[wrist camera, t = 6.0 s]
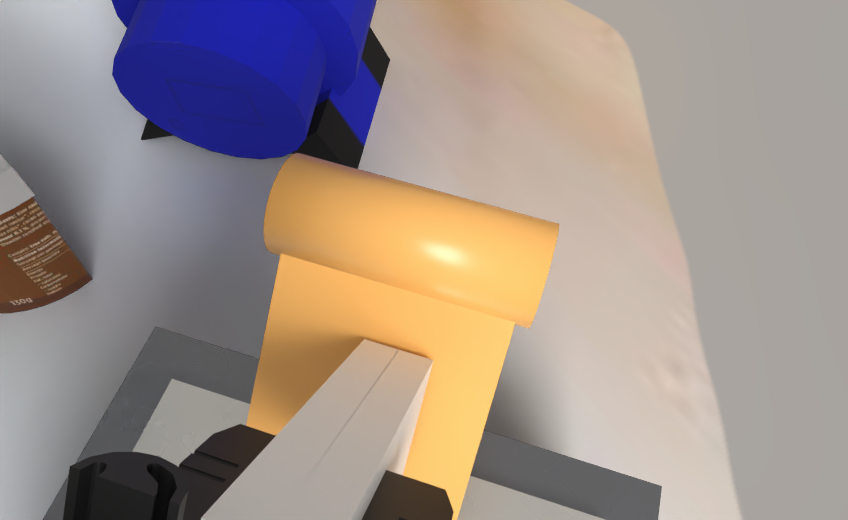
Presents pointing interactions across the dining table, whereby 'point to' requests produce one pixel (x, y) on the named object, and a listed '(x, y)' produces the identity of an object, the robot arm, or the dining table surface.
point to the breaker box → (229, 406)
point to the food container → (31, 251)
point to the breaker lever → (396, 299)
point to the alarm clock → (254, 74)
